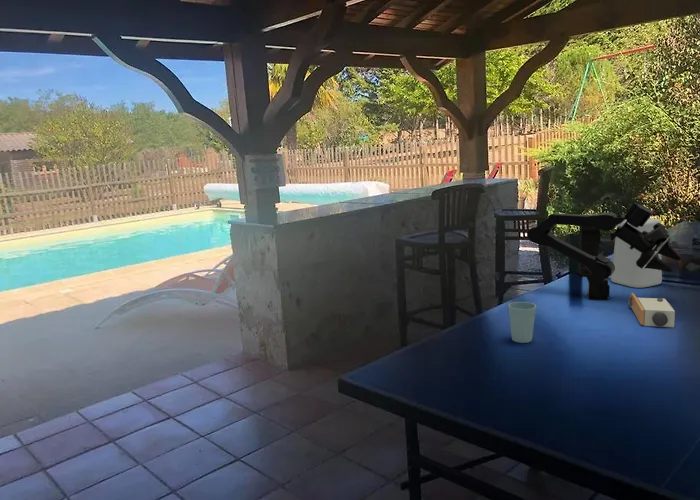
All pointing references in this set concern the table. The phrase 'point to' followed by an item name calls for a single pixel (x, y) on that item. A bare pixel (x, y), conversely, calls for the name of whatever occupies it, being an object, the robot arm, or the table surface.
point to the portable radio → (588, 245)
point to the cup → (522, 321)
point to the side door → (636, 308)
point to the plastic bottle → (634, 262)
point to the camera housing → (657, 312)
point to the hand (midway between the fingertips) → (676, 265)
